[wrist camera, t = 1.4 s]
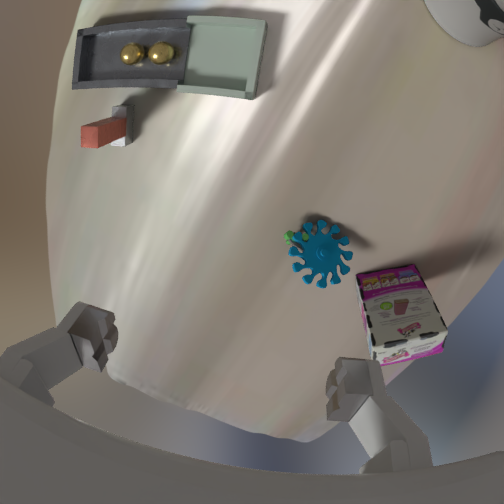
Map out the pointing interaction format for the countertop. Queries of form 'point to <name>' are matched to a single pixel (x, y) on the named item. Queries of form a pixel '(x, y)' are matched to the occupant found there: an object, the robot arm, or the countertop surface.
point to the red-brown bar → (110, 129)
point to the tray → (224, 56)
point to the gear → (319, 253)
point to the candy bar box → (399, 315)
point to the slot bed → (121, 75)
